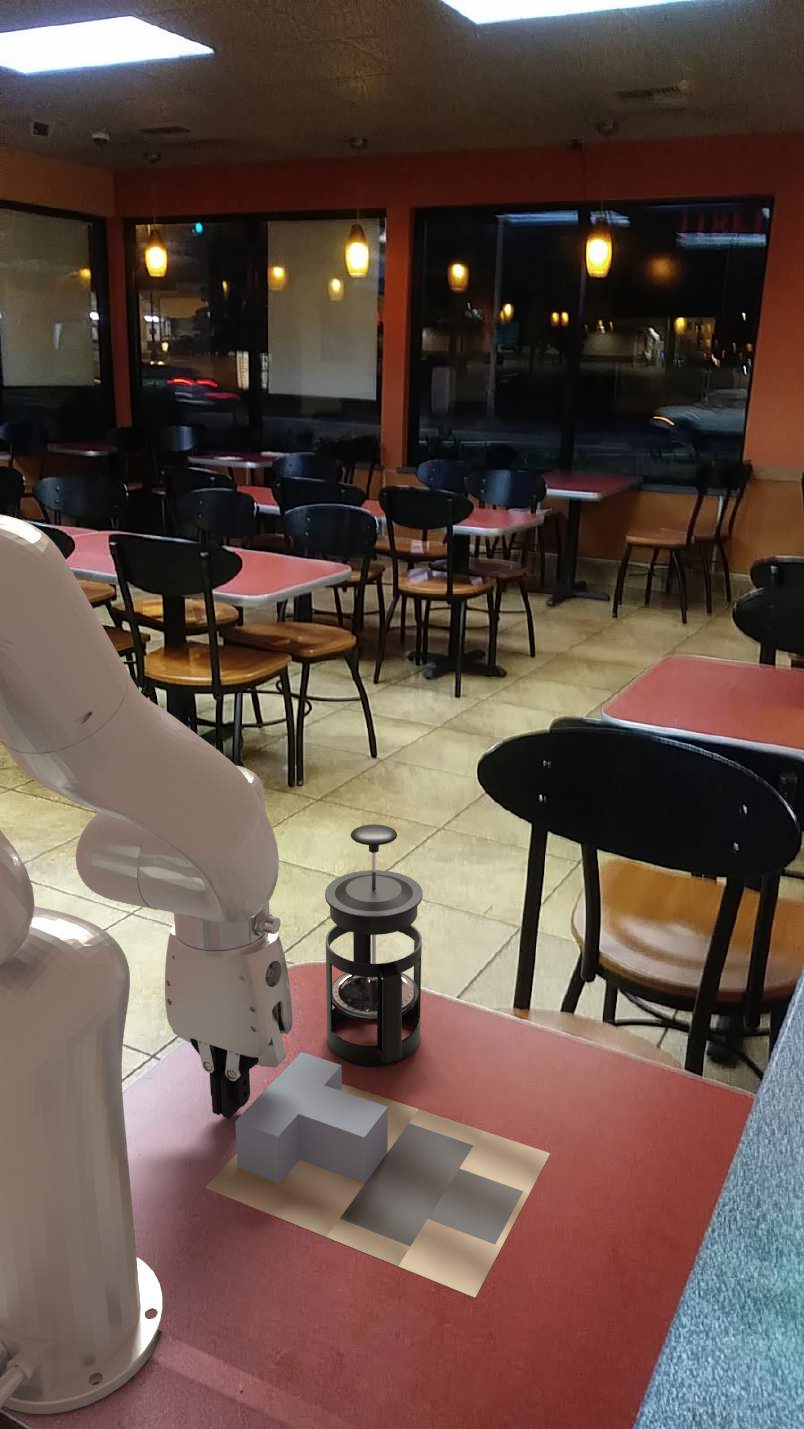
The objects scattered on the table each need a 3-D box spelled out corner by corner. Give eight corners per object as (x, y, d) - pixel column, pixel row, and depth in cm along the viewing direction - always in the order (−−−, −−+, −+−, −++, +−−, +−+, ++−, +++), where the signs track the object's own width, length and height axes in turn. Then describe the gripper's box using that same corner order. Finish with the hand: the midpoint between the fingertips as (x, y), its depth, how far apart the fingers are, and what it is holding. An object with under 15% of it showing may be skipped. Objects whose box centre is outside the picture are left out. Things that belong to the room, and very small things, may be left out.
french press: (314, 1024, 107) (310, 812, 100) (404, 1009, 109) (406, 802, 102) (341, 1098, 96) (339, 867, 89) (440, 1080, 99) (446, 854, 92)
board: (474, 1310, 75) (475, 1297, 75) (205, 1199, 85) (205, 1187, 84) (549, 1165, 88) (550, 1153, 88) (310, 1083, 98) (310, 1072, 98)
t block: (345, 1209, 82) (345, 1161, 81) (237, 1167, 86) (235, 1120, 85) (403, 1130, 91) (404, 1085, 89) (302, 1095, 95) (301, 1052, 93)
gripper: (325, 917, 86) (328, 1106, 92) (175, 878, 92) (186, 1058, 98) (275, 961, 80) (281, 1162, 86) (117, 916, 86) (133, 1106, 92)
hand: (231, 1106), depth 92 cm, fingers closed
